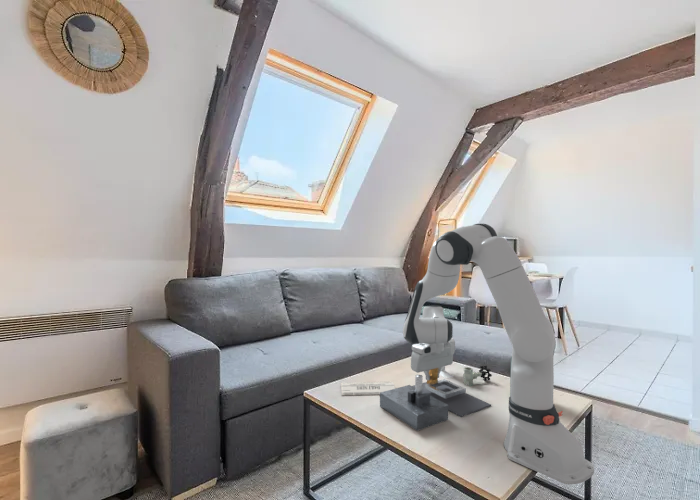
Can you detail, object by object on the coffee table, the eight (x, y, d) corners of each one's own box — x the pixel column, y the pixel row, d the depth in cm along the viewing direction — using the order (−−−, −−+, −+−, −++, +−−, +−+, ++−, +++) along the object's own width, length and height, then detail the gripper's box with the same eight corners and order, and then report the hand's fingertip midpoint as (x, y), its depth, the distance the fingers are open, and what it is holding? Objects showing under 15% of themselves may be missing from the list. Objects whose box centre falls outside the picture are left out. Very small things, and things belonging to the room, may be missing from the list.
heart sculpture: (456, 377, 160) (456, 337, 160) (446, 379, 159) (446, 338, 159) (438, 366, 175) (439, 329, 175) (429, 367, 174) (429, 329, 174)
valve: (469, 387, 150) (491, 383, 155) (470, 371, 150) (492, 367, 155) (458, 382, 156) (480, 377, 161) (459, 366, 156) (480, 363, 161)
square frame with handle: (465, 392, 140) (466, 374, 140) (445, 398, 134) (445, 379, 134) (439, 380, 152) (439, 363, 152) (419, 385, 146) (419, 368, 146)
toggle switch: (448, 419, 123) (448, 378, 122) (417, 430, 116) (417, 387, 115) (409, 397, 140) (409, 361, 140) (379, 406, 133) (380, 368, 132)
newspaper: (391, 383, 155) (391, 378, 155) (396, 399, 143) (397, 393, 143) (338, 384, 154) (338, 378, 153) (339, 400, 141) (339, 394, 141)
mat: (491, 406, 133) (491, 404, 133) (460, 417, 125) (460, 415, 125) (435, 380, 157) (435, 379, 157) (407, 388, 148) (407, 387, 148)
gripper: (445, 339, 155) (444, 371, 155) (408, 346, 144) (408, 381, 145) (456, 343, 150) (456, 376, 150) (419, 350, 139) (419, 386, 139)
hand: (432, 378), depth 147 cm, fingers closed on square frame with handle, 3 cm apart
